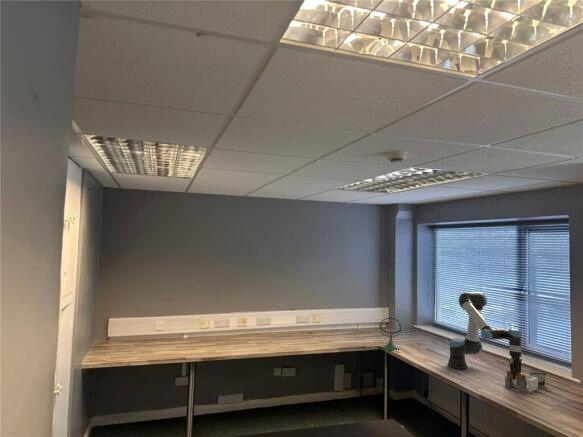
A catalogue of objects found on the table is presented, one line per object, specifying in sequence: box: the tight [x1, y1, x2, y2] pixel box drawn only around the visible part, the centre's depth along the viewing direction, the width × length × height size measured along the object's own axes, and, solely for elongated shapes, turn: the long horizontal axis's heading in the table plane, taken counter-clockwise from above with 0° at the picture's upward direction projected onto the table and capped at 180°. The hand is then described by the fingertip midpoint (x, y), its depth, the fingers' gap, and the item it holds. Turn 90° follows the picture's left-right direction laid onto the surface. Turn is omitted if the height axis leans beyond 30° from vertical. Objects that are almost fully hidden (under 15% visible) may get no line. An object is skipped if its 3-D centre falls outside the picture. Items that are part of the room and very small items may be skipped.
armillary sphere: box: [379, 312, 403, 352], centre depth 367 cm, size 22×26×35 cm
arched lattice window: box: [528, 369, 547, 387], centre depth 280 cm, size 12×6×10 cm, turn 92°
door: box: [506, 369, 526, 387], centre depth 270 cm, size 12×2×8 cm, turn 31°
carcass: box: [504, 372, 539, 393], centre depth 273 cm, size 16×17×8 cm
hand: (516, 383), depth 270 cm, fingers closed on door, 2 cm apart
